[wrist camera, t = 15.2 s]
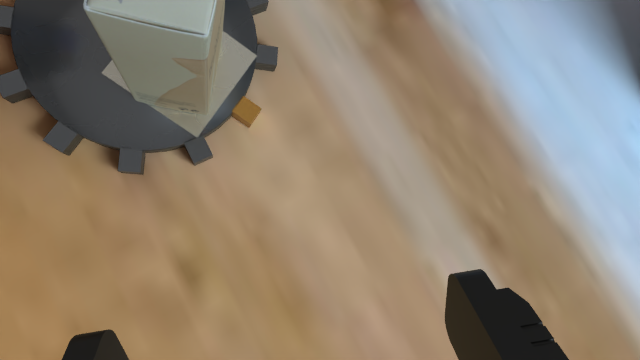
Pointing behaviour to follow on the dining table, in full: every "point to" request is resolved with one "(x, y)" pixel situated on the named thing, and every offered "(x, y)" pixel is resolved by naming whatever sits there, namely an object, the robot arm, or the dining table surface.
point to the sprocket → (122, 82)
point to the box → (163, 48)
